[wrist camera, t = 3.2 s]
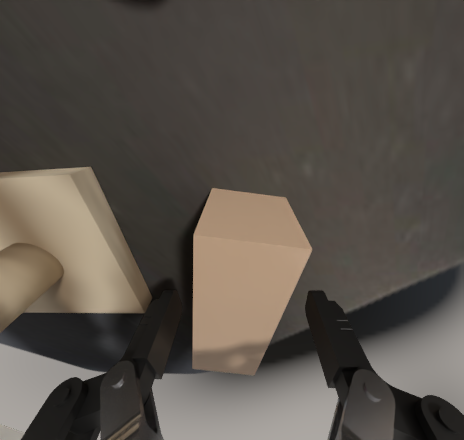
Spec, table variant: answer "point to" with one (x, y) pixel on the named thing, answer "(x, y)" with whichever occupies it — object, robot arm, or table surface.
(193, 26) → the table surface
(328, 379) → the robot arm
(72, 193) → the display stand
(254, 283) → the tan block
